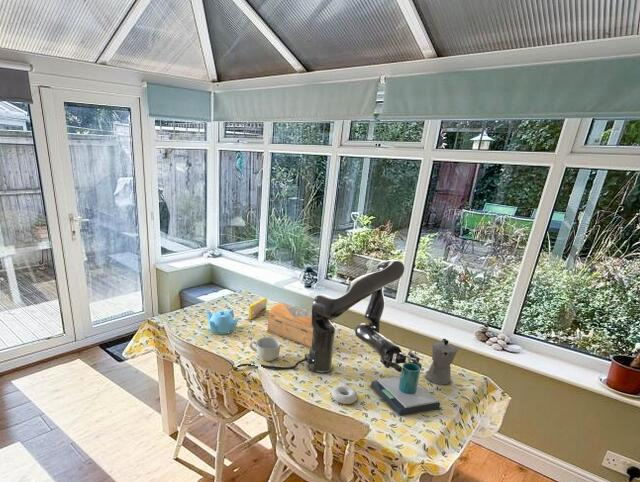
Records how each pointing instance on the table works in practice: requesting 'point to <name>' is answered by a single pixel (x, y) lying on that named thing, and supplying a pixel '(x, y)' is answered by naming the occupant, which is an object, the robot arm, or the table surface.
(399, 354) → the robot arm
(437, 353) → the coffeepot
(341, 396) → the donut
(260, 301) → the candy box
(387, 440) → the table surface
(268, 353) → the teacup
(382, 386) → the scale
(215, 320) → the teapot
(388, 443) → the table surface
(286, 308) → the wooden box
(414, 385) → the canister
